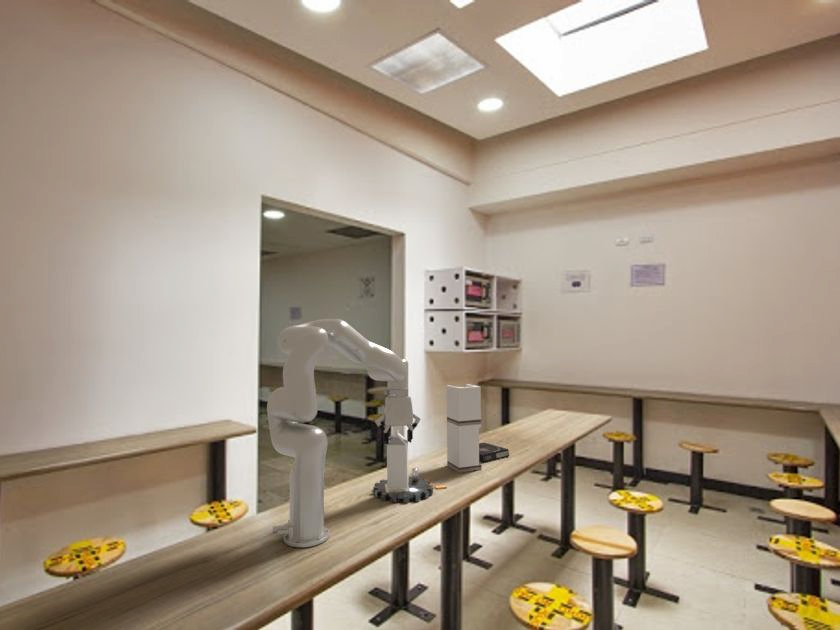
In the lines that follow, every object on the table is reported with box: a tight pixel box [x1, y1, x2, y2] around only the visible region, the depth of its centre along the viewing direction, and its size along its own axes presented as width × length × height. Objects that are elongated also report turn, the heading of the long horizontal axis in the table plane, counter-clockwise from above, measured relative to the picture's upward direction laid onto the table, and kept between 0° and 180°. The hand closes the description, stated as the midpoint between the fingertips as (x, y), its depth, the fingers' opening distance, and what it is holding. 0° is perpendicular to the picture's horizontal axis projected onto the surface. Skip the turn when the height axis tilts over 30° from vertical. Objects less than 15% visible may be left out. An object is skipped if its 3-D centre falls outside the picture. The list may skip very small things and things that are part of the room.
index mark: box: [434, 484, 448, 490], centre depth 170 cm, size 4×2×1 cm, turn 108°
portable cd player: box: [479, 442, 510, 464], centre depth 214 cm, size 16×17×4 cm
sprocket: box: [372, 467, 434, 503], centre depth 166 cm, size 22×22×6 cm
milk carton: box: [386, 430, 409, 488], centre depth 163 cm, size 7×7×19 cm
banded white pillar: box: [446, 383, 483, 473], centre depth 196 cm, size 11×11×35 cm
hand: (398, 442), depth 163 cm, fingers closed on milk carton, 7 cm apart
